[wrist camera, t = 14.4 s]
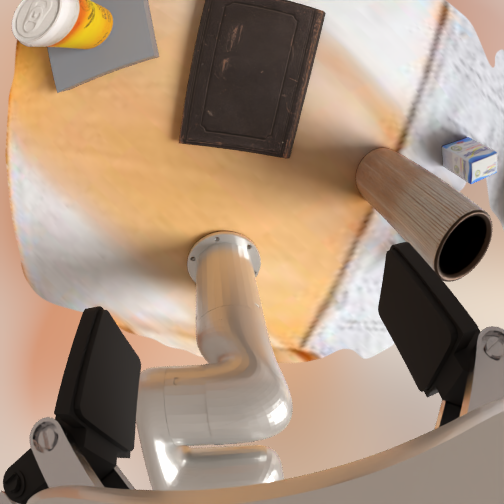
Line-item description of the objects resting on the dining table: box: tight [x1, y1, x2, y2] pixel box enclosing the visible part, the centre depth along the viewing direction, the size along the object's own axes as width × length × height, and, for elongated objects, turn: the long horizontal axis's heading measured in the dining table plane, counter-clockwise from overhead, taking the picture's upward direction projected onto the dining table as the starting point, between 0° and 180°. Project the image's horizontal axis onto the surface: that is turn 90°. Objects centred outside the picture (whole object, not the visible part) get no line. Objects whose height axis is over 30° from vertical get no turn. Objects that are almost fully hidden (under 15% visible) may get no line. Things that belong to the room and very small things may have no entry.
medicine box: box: [442, 137, 497, 184], centre depth 42 cm, size 8×4×9 cm, turn 112°
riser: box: [47, 0, 159, 93], centre depth 27 cm, size 14×14×4 cm
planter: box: [356, 148, 492, 281], centre depth 38 cm, size 10×10×23 cm
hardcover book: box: [179, 0, 325, 158], centre depth 35 cm, size 16×23×2 cm
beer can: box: [12, 0, 113, 49], centre depth 19 cm, size 6×6×15 cm
